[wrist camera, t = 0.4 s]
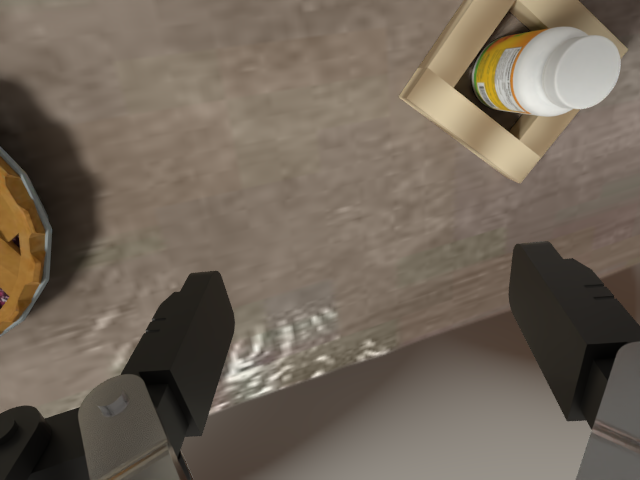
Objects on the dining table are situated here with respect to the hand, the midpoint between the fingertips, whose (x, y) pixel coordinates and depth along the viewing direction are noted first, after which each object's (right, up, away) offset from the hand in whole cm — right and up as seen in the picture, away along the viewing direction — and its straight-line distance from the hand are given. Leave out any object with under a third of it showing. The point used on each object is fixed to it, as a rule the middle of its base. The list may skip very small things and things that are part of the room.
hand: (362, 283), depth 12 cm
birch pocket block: (+13, +14, +21) cm, 29 cm away
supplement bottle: (+13, +14, +22) cm, 29 cm away
